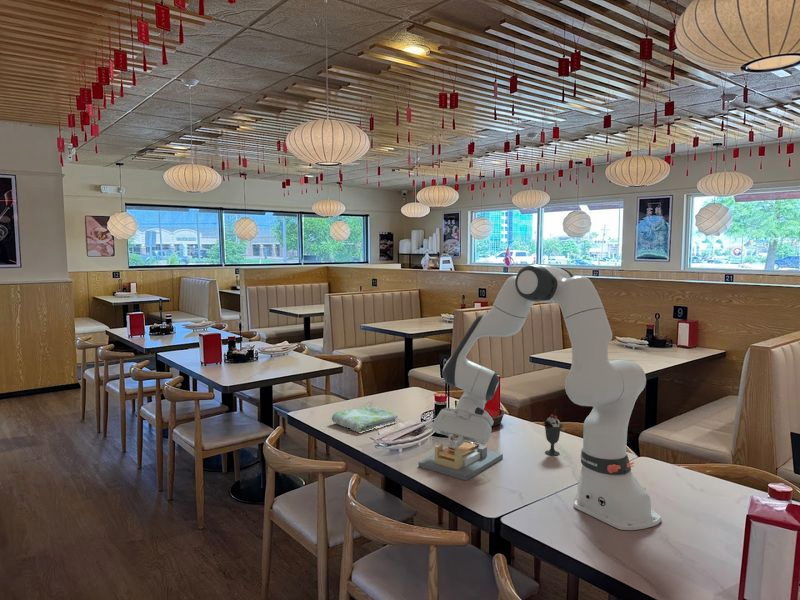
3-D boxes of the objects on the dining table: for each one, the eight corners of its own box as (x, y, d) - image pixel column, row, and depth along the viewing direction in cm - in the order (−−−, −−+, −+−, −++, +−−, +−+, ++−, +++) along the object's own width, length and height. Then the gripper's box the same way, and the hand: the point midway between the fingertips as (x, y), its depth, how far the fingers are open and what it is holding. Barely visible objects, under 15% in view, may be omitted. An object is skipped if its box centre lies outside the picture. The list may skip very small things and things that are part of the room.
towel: (399, 423, 221) (399, 411, 220) (359, 435, 206) (359, 422, 206) (370, 414, 234) (370, 402, 233) (330, 425, 219) (330, 413, 219)
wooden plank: (464, 439, 184) (439, 450, 173) (479, 443, 180) (454, 455, 169) (463, 444, 184) (439, 455, 173) (479, 448, 181) (454, 460, 169)
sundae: (560, 450, 189) (561, 408, 187) (564, 457, 182) (564, 413, 181) (540, 449, 189) (541, 407, 188) (544, 456, 182) (544, 413, 181)
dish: (449, 424, 218) (449, 412, 218) (480, 413, 234) (480, 401, 234) (485, 434, 206) (485, 421, 206) (515, 421, 222) (516, 409, 222)
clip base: (457, 446, 192) (457, 427, 192) (502, 458, 181) (502, 438, 180) (418, 466, 175) (418, 445, 174) (465, 480, 163) (465, 458, 163)
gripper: (438, 401, 185) (421, 437, 178) (491, 412, 172) (475, 451, 165) (446, 411, 188) (429, 446, 182) (498, 422, 176) (482, 461, 169)
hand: (451, 449), depth 173 cm, fingers closed, pressing on wooden plank
